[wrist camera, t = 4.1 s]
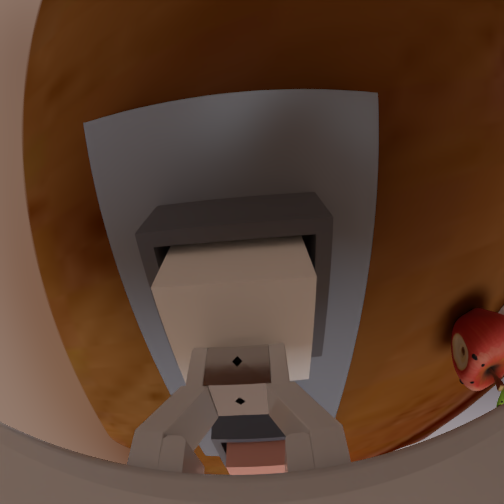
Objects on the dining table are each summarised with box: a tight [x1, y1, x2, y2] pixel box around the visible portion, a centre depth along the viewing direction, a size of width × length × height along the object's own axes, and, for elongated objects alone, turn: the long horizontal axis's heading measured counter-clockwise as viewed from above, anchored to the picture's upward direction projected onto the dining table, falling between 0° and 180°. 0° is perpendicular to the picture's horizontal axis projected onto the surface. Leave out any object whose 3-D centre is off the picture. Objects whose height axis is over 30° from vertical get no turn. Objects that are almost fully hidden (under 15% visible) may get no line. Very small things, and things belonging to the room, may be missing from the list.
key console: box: [83, 89, 379, 467], centre depth 18 cm, size 32×13×6 cm, turn 5°
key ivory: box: [151, 235, 317, 383], centre depth 11 cm, size 5×5×3 cm
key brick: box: [226, 440, 285, 475], centre depth 18 cm, size 5×5×3 cm
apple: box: [451, 308, 504, 407], centre depth 16 cm, size 8×7×10 cm
